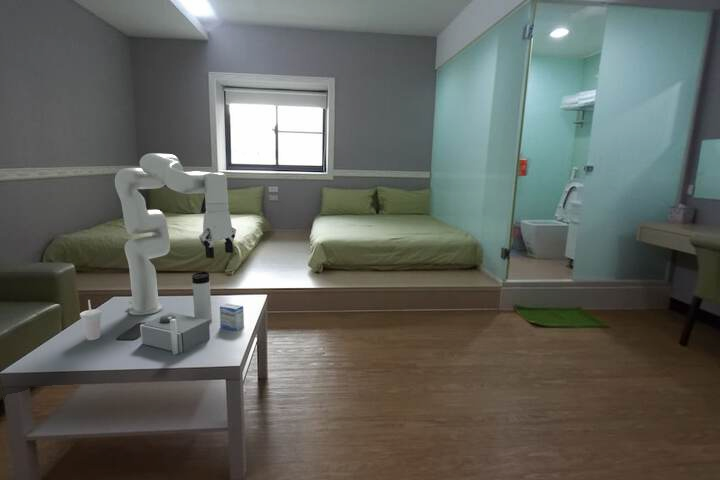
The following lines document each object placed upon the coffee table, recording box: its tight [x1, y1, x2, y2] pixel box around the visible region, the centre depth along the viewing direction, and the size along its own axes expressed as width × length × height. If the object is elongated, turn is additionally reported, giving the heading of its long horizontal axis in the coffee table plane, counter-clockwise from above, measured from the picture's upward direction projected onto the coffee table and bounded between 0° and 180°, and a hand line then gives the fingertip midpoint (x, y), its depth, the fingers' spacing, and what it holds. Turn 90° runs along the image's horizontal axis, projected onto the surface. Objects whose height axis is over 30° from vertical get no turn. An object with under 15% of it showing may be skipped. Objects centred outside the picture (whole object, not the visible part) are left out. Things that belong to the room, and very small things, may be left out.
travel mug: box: [191, 270, 213, 324], centre depth 154 cm, size 6×7×20 cm
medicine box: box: [219, 303, 245, 331], centre depth 150 cm, size 8×4×9 cm, turn 70°
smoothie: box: [79, 299, 103, 341], centre depth 138 cm, size 6×6×14 cm
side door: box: [140, 319, 184, 355], centre depth 130 cm, size 18×3×12 cm, turn 69°
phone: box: [115, 322, 145, 341], centre depth 145 cm, size 7×1×15 cm
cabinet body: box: [143, 312, 211, 353], centre depth 138 cm, size 18×12×8 cm, turn 69°
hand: (220, 255), depth 141 cm, fingers open, 9 cm apart
